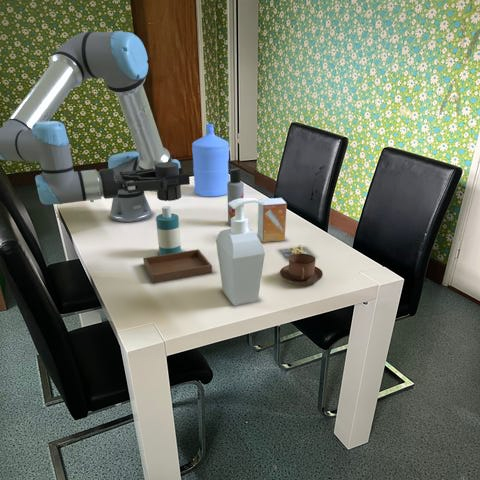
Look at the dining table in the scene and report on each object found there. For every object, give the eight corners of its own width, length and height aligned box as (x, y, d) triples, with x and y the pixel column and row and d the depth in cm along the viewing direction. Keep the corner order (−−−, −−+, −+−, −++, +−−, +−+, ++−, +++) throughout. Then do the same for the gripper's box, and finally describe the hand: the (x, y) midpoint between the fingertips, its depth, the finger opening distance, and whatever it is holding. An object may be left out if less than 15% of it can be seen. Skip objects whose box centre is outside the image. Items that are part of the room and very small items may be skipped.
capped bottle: (157, 250, 150) (152, 205, 142) (178, 247, 152) (174, 202, 144) (162, 258, 144) (157, 212, 136) (183, 255, 146) (180, 209, 139)
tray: (144, 265, 140) (143, 257, 139) (199, 256, 146) (198, 249, 144) (153, 283, 130) (152, 275, 129) (212, 273, 135) (211, 265, 134)
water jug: (216, 199, 196) (214, 128, 182) (187, 193, 204) (182, 125, 189) (236, 190, 207) (236, 123, 193) (208, 185, 215) (205, 120, 200)
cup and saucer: (329, 285, 129) (331, 264, 125) (289, 291, 126) (290, 270, 122) (311, 267, 138) (313, 248, 135) (273, 272, 136) (274, 253, 132)
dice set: (292, 258, 144) (292, 252, 143) (286, 252, 148) (287, 246, 147) (307, 256, 145) (308, 250, 144) (301, 250, 149) (301, 244, 148)
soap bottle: (269, 302, 120) (272, 204, 107) (233, 309, 117) (232, 210, 104) (251, 282, 130) (252, 190, 117) (217, 288, 127) (214, 195, 114)
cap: (155, 195, 131) (152, 163, 127) (177, 193, 133) (175, 161, 129) (160, 202, 126) (157, 168, 122) (183, 199, 128) (181, 166, 124)
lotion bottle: (241, 227, 168) (241, 170, 157) (226, 226, 169) (225, 170, 158) (244, 221, 172) (244, 166, 162) (229, 220, 173) (228, 166, 163)
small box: (262, 243, 155) (263, 204, 148) (257, 236, 160) (257, 199, 153) (285, 240, 156) (287, 202, 149) (279, 234, 162) (281, 197, 155)
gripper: (98, 189, 131) (177, 180, 138) (107, 209, 116) (196, 198, 123) (93, 161, 127) (175, 154, 134) (103, 178, 112) (194, 169, 119)
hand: (185, 175), depth 129 cm, fingers closed on cap, 6 cm apart
